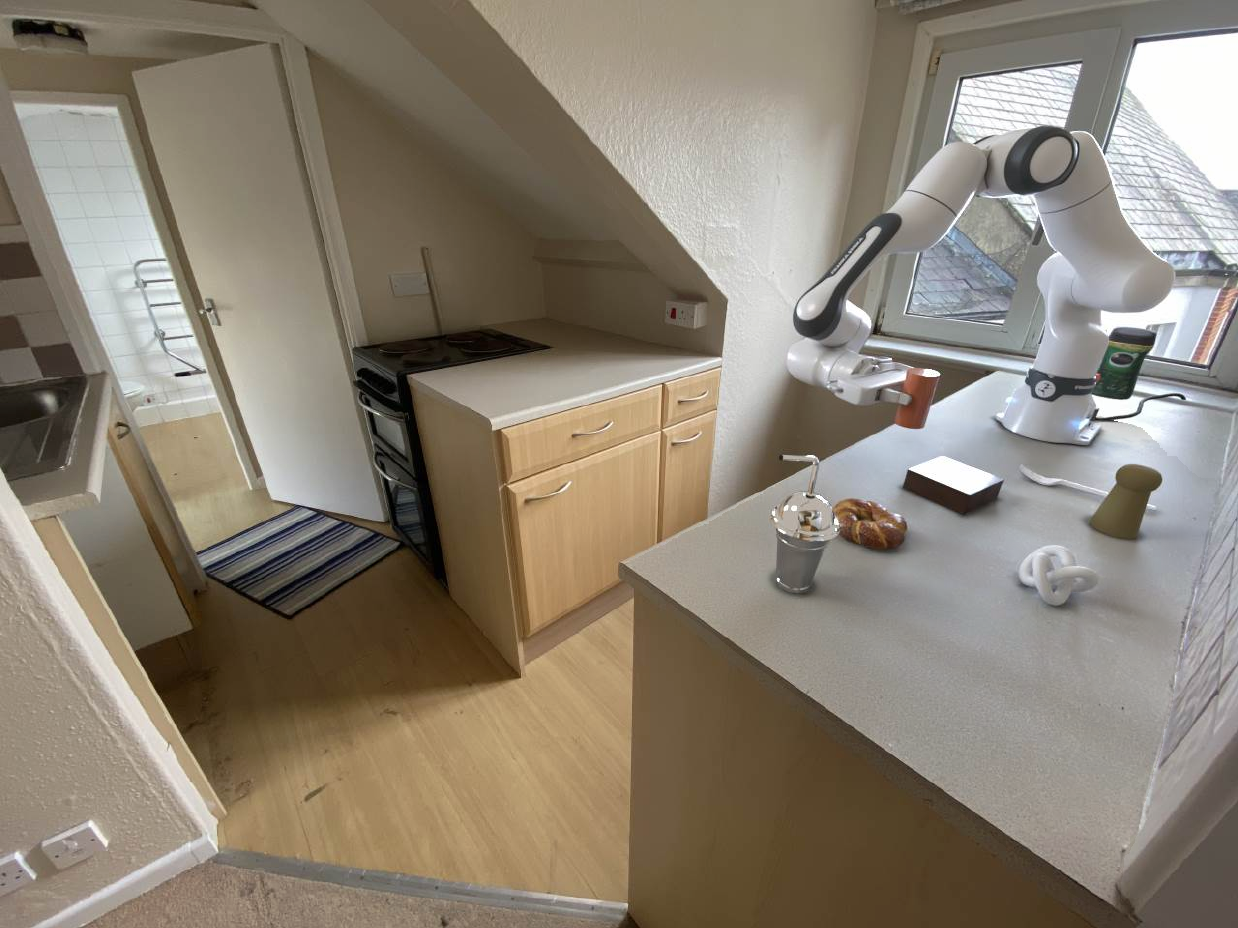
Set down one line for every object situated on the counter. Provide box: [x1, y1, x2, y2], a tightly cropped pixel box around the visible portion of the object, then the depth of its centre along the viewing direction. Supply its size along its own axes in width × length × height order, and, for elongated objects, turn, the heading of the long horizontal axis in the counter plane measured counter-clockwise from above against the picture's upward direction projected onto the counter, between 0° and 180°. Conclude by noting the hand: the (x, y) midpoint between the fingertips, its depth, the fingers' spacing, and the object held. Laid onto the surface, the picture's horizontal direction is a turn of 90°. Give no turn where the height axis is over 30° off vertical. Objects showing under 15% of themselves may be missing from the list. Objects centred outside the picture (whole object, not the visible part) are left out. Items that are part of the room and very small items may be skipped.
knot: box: [1018, 544, 1100, 607], centre depth 70 cm, size 8×8×6 cm
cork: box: [1088, 463, 1163, 540], centre depth 83 cm, size 6×6×11 cm
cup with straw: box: [770, 454, 840, 595], centre depth 68 cm, size 8×9×20 cm
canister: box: [893, 367, 941, 430], centre depth 96 cm, size 5×5×10 cm
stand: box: [902, 455, 1005, 516], centre depth 94 cm, size 11×11×4 cm
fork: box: [1018, 463, 1157, 511], centre depth 96 cm, size 3×20×2 cm, turn 47°
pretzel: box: [832, 497, 908, 550], centre depth 83 cm, size 12×11×4 cm
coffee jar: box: [1091, 326, 1157, 401], centre depth 142 cm, size 10×8×19 cm
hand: (921, 397), depth 96 cm, fingers closed on canister, 5 cm apart
